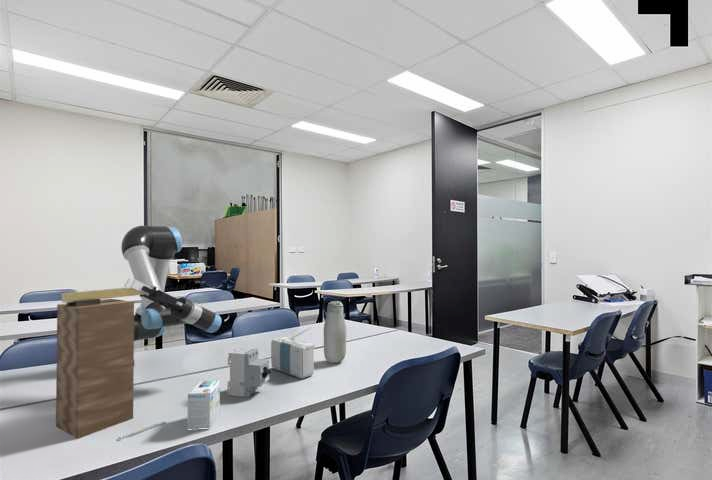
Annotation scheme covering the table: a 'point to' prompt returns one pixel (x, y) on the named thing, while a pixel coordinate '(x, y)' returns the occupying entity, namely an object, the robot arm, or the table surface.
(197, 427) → the light bulb box
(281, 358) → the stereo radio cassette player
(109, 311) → the walnut stand
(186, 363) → the table surface
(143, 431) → the ruler
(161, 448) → the table surface
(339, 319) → the grey water bottle
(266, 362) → the circuit breaker
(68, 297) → the light wood bar
